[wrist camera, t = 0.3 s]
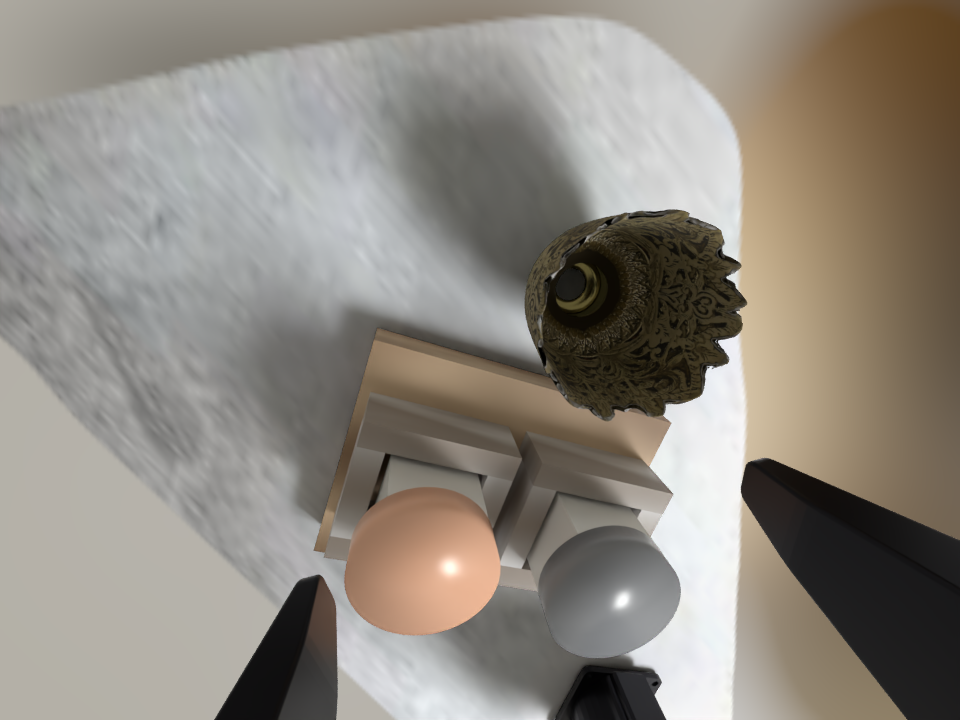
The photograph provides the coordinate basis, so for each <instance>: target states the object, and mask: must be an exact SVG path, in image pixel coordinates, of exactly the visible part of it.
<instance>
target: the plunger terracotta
mask: <svg viewBox="0 0 960 720" xmlns="http://www.w3.org/2000/svg"><path fill="white" fill-rule="evenodd" d="M487 516H488V515H487V510H486V506H485V502H484V498H483V494H482V489H481V485H480V481H479V477H478V474H477V473H473V472H468V471H464V470H459V469H455V468H450V467H446V466H441V465H437V464H432V463H428V462H423V461H419V460H414V459H410V458H405V457H401V456H396V455H391V456H390V459H389V462H388V465H387V468H386V471H385V474H384V477H383V480H382V484H381V487H380V490H379V493H378V496H377V499H376V502H375V505H373V506H372V507H371V508H370V509H369V510H368V511H367V512H366V513H365V514H364V515H363V516H362V518H361V519H360V520H359V522H358V524H357V525H356V527H355V529H354V532H353V534H352V538H351V543H350V548H349V554H348V559H347V564H346V570H345V580H344V583H345V590H346V594H347V597H348V599H349V601H350V603H351V605H352V606H353V608H354V609H355V611H356V612H357V613H358V614H359V615H360V616H361V617H362V618H363V619H365V620H366V621H367V622H369V623H370V624H372V625H374V626H376V627H378V628H380V629H383V630H385V631H389V632H392V633H397V634H402V635H427V634H434V633H438V632H442V631H445V630H448V629H451V628H454V627H456V626H458V625H460V624H462V623H464V622H466V621H467V620H469V619H470V618H472V617H473V616H475V615H476V614H477V613H478V612H479V611H480V610H482V608H483V607H484V606H485V605H486V604H487V603H488V602H489V600H490V599H491V597H492V596H493V594H494V592H495V590H496V588H497V585H498V582H499V578H500V569H501V565H500V558H499V554H498V550H497V545H496V541H495V537H494V533H493V529H492V526H491V523H490V521H489V519H488V517H487Z"/></svg>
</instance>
